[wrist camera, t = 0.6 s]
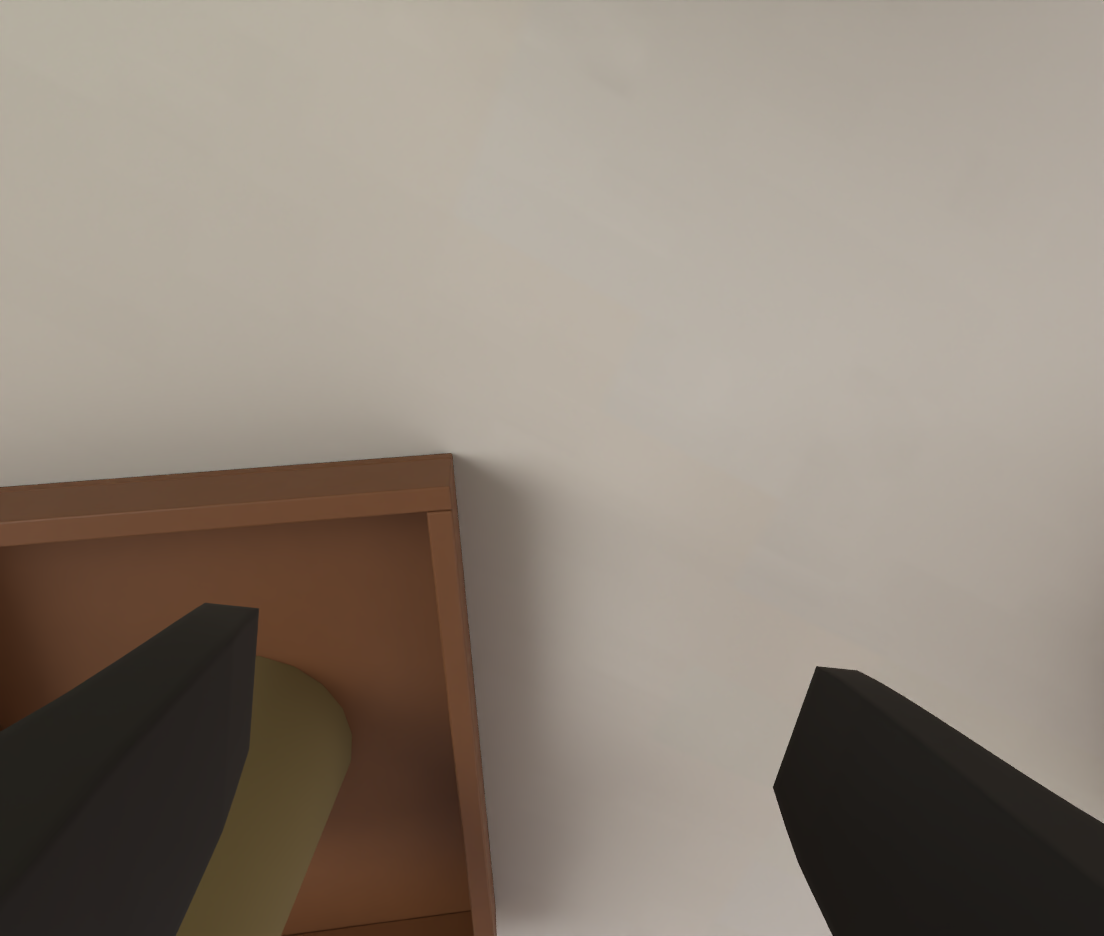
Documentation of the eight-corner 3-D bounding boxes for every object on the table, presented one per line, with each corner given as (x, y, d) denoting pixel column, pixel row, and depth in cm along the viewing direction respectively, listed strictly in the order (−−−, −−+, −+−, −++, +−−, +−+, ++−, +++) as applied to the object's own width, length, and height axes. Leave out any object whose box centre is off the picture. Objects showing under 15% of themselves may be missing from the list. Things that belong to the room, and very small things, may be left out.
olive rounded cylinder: (91, 780, 20) (-303, 1379, 10) (187, 618, 19) (-151, 1113, 8) (290, 855, 22) (133, 1432, 11) (391, 711, 20) (316, 1219, 10)
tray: (495, 908, 24) (498, 980, 22) (81, 964, 23) (39, 1046, 21) (452, 452, 18) (450, 486, 16) (-99, 494, 17) (-183, 536, 15)
